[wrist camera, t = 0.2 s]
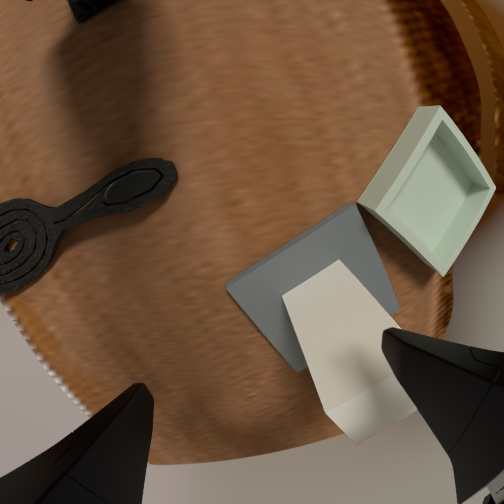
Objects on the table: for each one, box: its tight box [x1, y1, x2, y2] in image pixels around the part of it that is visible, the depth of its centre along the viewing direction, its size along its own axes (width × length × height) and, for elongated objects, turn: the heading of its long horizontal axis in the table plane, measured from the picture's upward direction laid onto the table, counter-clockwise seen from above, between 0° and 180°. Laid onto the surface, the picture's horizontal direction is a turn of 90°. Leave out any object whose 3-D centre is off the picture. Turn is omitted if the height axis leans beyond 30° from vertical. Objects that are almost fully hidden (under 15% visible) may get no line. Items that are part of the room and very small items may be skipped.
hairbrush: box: [0, 158, 178, 295], centre depth 19 cm, size 8×4×25 cm
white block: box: [282, 260, 417, 445], centre depth 18 cm, size 6×6×12 cm
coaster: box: [225, 202, 400, 373], centre depth 25 cm, size 12×12×1 cm
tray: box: [357, 106, 496, 277], centre depth 21 cm, size 11×11×3 cm
